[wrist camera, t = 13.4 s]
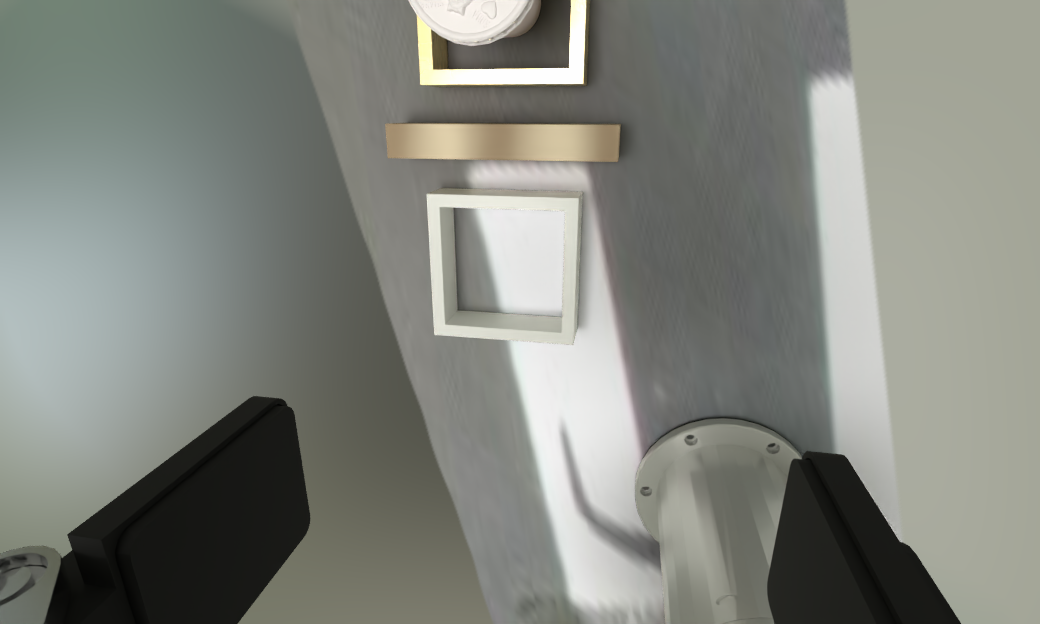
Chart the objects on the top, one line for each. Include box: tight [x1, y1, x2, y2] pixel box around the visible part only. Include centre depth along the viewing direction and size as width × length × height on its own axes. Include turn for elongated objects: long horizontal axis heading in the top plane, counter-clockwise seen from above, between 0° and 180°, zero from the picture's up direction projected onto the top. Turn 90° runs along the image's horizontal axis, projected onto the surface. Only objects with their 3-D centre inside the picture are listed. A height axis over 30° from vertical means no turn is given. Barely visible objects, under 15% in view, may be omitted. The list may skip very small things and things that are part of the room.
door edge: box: [385, 123, 621, 162], centre depth 34 cm, size 14×2×4 cm, turn 90°
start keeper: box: [427, 188, 583, 345], centre depth 37 cm, size 10×10×3 cm
